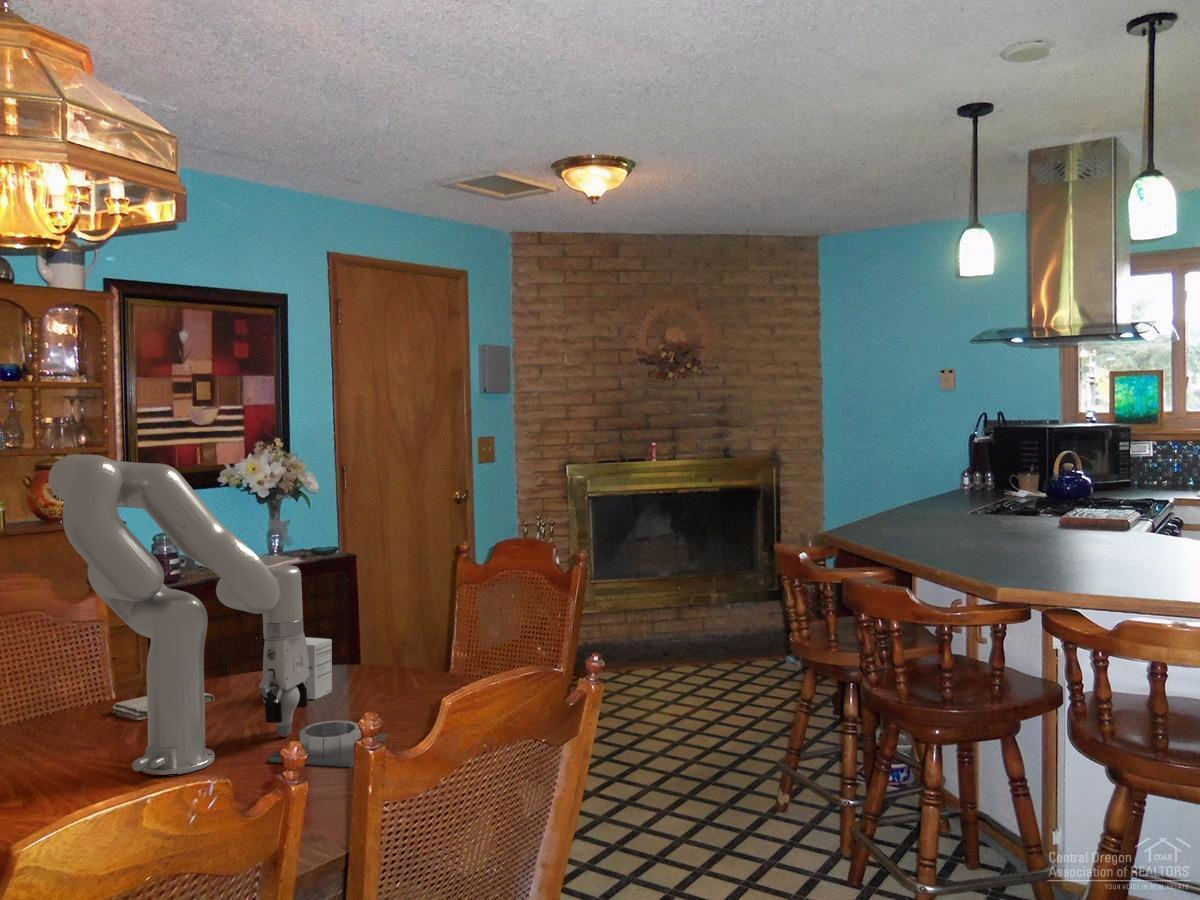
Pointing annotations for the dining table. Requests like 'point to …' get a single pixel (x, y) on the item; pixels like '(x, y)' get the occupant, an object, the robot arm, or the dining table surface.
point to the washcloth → (141, 707)
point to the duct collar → (329, 743)
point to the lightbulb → (287, 709)
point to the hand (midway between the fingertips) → (287, 714)
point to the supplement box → (319, 667)
